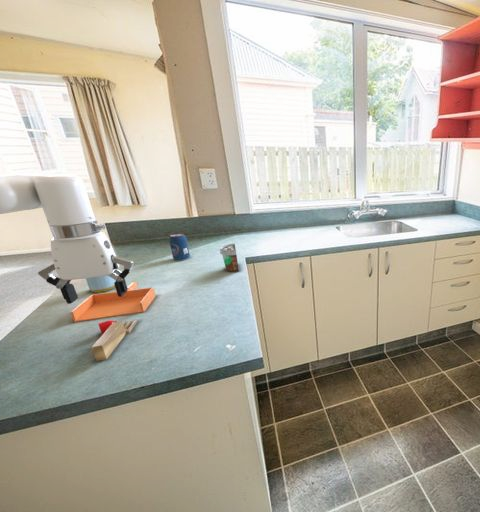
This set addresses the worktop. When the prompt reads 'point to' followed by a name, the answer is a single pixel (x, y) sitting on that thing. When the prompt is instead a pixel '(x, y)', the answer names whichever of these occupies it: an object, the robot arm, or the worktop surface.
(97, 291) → the bottle
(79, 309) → the dustpan
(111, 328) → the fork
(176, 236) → the soda can
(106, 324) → the strawberry
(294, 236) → the worktop surface
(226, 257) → the food container
